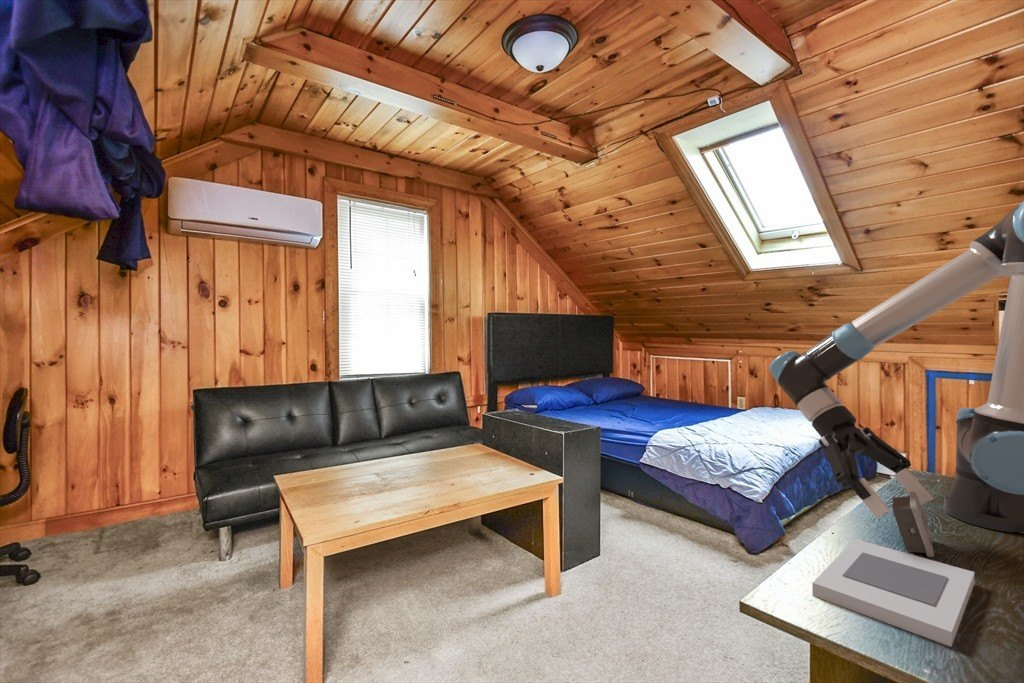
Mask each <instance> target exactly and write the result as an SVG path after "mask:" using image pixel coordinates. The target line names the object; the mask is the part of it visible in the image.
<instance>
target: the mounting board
mask: <svg viewBox="0 0 1024 683" xmlns="http://www.w3.org/2000/svg"><path fill="white" fill-rule="evenodd" d="M974 586H975V571H972V570H969V569H965V568H961V567H957V566H953V565H951V564H946V563H942V562H939V561H937V560H933V559H928V558H924V557H921V556H918V555H914V554H910V553H909V552H904V551H900V550H896V549H893V548H890V547H885V546H882V545H879V544H876V543H875V544H874V543H871V542H868V541H864V540H860V539H857V538H854V539H853V540H852V541H851V542H850V543H849V544H848V545H847V547H845V548H844V549H843V550H842V551H841V552H840V553H839V555H837V557H836V558H834V559H833V561H832V562H831V563H830V564H829V565H828V566H827V567H826V568H825V569H824V570H823V571H822V572H821V573H820V574H819V575H818V577H816V579H815V580H814V581H812V588H811V590H812V593H811V594H812V596H813V595H814V596H813V597H815V596H816V598H818V597H819V598H818V599H820V600H823V601H826V602H829V603H832V604H835V605H837V606H840V607H843V608H845V609H848V610H850V611H854V612H856V613H859V614H861V615H864V616H867V617H870V618H872V617H873V618H872V619H875V620H877V621H881V622H883V623H884V624H885V623H886V624H889V625H891V626H894V627H896V628H899V629H902V630H904V631H907V632H910V633H913V634H915V635H917V636H921V637H924V638H925V639H929V640H930V641H933V642H937V643H939V644H942V645H944V646H947V647H949V648H952V646H953V645H954V644H953V643H954V641H955V638H956V636H957V633H958V630H959V627H960V624H961V622H962V619H963V617H964V613H965V611H966V608H967V605H968V603H969V600H970V597H971V594H972V592H973V589H974Z"/></svg>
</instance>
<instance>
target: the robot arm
mask: <svg viewBox="0 0 1024 683" xmlns="http://www.w3.org/2000/svg"><path fill="white" fill-rule="evenodd" d="M998 278H1010V279H1009V284H1008V289H1007V295H1006V301H1005V306H1004V312H1003V318H1002V322H1001V326H1000V327H1001V328H1000V333H999V338H998V342H997V349H996V354H995V360H994V365H993V370H992V375H991V380H990V386H989V392H988V398H987V401H986V403H984V404H982V405H980V406H978V407H976V408H975V407H974V408H973V407H963V408H960V409H959V410H958V411H957V416H956V419H955V423H956V449H955V475H954V476H955V477H954V478H953V481H952V483H951V486H950V488H949V491H948V495H946V496H945V497H944V500H943V504H944V505H943V510H944V512H945V513H946V514H948V515H949V516H951V517H952V518H954V519H956V520H960V521H962V522H963V523H966V524H967V523H968V524H970V525H975V526H977V527H981V528H986V529H990V530H995V531H1000V532H1005V531H1006V532H1007V533H1013V532H1024V200H1023V201H1022V202H1021V203H1020V204H1019V205H1018V206H1016V207H1015V208H1013V209H1012V210H1011V211H1010V212H1008V213H1007V214H1006V215H1005V216H1004V217H1003V218H1002V219H1001V220H1000V221H998V222H997V223H996V224H995V225H994V226H992V227H991V228H989V230H987V231H986V232H985V233H983V234H982V235H979V236H978V237H977V238H975V239H974V240H972V241H971V242H970V243H969V248H968V249H967V250H965V251H964V252H963V253H961V254H959V255H958V256H956V257H954V258H953V259H951V260H950V261H948V262H946V263H944V264H942V265H941V266H939V267H938V268H936V269H935V270H933V271H931V272H930V273H928V274H926V275H925V276H923V277H922V278H920V279H918V280H917V281H915V282H914V283H912V284H911V285H908V286H906V287H905V288H904V289H902V290H900V291H899V292H897V293H895V294H894V295H893V296H890V297H889V298H888V299H886V300H884V301H883V302H881V303H879V304H878V305H876V306H874V307H872V308H871V309H869V310H868V311H866V312H865V313H863V314H862V315H860V316H858V317H857V318H855V319H854V320H852V321H850V322H848V323H845V324H844V323H843V325H842V326H840V327H838V328H836V329H834V330H833V331H832V332H831V333H829V334H828V335H826V336H825V337H823V338H822V339H821V340H820V341H819V342H817V343H815V344H814V345H813V346H811V348H809V349H808V350H806V351H805V352H803V353H799V352H798V351H796V350H789V351H785V352H784V353H782V354H779V355H778V356H777V357H775V358H774V359H773V360H772V361H771V363H770V364H769V373H770V374H771V375H772V377H773V379H775V382H776V383H777V385H778V386H779V387H780V388H781V389H782V391H783V392H784V393H786V395H787V396H788V398H789V399H790V400H791V401H792V403H794V405H795V406H796V408H798V409H799V410H800V412H801V413H802V415H803V416H804V417H805V418H806V419H807V421H808V422H809V423H811V426H812V428H813V429H814V430H815V431H816V433H817V434H818V435H819V436H820V437H821V438H819V439H818V441H817V442H818V443H819V445H820V446H821V448H822V449H823V451H824V453H825V456H826V458H827V461H828V464H829V466H830V468H831V471H832V474H833V477H834V479H835V481H836V482H837V484H838V483H839V484H841V485H842V487H845V488H847V487H848V486H850V488H852V490H853V492H854V493H856V495H857V496H858V497H859V499H861V501H862V502H863V504H865V506H866V507H867V508H868V509H869V510H870V512H871V513H872V515H873V516H874V517H875V518H876V519H877V518H880V517H882V516H883V515H885V514H888V513H889V512H891V509H890V508H889V506H888V505H887V504H886V503H885V502H884V501H883V500H882V498H881V497H880V495H879V494H878V493H877V492H876V490H874V488H873V487H872V486H871V484H869V482H868V481H867V479H866V478H865V477H862V478H860V474H859V469H858V463H857V460H856V455H861V456H866V457H868V458H870V459H872V460H873V461H874V462H876V463H878V464H880V465H882V466H883V467H885V468H887V470H890V471H892V473H895V474H893V476H894V478H895V479H896V480H897V481H898V482H899V484H900V485H901V486H902V487H903V488H904V489H905V491H906V492H907V493H908V494H909V495H910V492H915V493H916V495H917V497H918V499H919V502H920V505H921V506H922V505H924V504H926V503H927V502H930V501H931V500H934V497H933V496H932V495H931V494H930V493H929V491H928V490H927V489H926V488H925V487H924V486H923V484H921V482H920V481H919V480H918V479H917V478H916V476H915V475H914V474H913V473H912V472H911V471H910V470H909V469H908V468H909V467H911V466H912V464H911V460H909V459H908V457H905V456H904V455H903V454H901V453H900V452H899V451H897V450H896V449H895V448H893V447H892V446H891V445H890V444H888V443H887V442H886V441H884V440H883V439H881V438H880V437H879V436H877V435H876V433H874V432H873V431H872V429H870V428H869V427H867V426H865V427H864V428H863V429H862V430H859V429H858V428H857V427H856V426H855V424H856V422H857V418H856V416H854V414H853V413H852V412H851V411H850V409H849V408H847V406H844V405H843V401H842V400H840V399H839V397H838V396H837V395H836V394H835V393H834V392H833V390H832V389H831V388H830V387H829V386H828V385H827V384H826V382H827V381H829V380H830V379H833V377H834V376H836V375H838V374H839V373H841V372H842V371H844V370H845V369H848V368H849V367H850V366H852V365H854V364H855V363H856V362H858V361H859V360H862V359H864V357H866V355H868V354H869V353H871V352H872V351H873V350H874V348H876V347H878V346H880V345H883V343H884V344H885V342H887V341H890V339H892V338H894V337H896V336H898V335H899V334H901V333H903V332H904V331H906V330H908V329H910V328H911V327H913V326H916V325H917V324H919V323H921V322H922V321H924V320H926V319H928V318H929V317H931V316H933V315H934V314H936V313H938V312H940V311H942V310H944V309H945V308H947V307H948V306H950V305H952V304H954V303H955V302H957V301H959V300H962V299H963V298H964V297H966V296H968V295H970V294H971V293H973V292H975V291H978V290H979V289H980V288H982V287H983V286H985V285H987V284H989V283H991V282H992V281H994V280H997V279H998Z"/></svg>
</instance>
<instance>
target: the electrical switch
mask: <svg viewBox="0 0 1024 683" xmlns="http://www.w3.org/2000/svg"><path fill="white" fill-rule="evenodd" d="M891 509H892V512H893V515H894V518H895V521H896V524H897V527H898V530H899V533H900V536H901V539H902V542H903V545H904V548H905V551H906V553H919V554H920V553H924V554H926V556H927V558H935V553H934V552H935V551H934V547H933V540H932V538H933V537H932V534H931V531H930V528H929V526H928V525H929V524H928V516H927V513H926V512H924V511H923V508H922V505H920V502H919V499H918V497H917V495H916V493H915V492H910V494H909V495H905V496H899V497H898V496H892V507H891Z"/></svg>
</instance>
